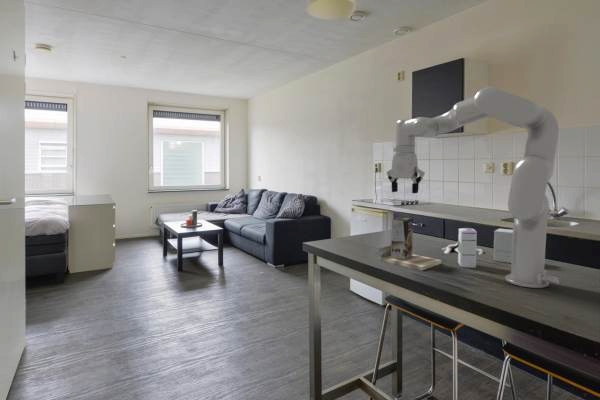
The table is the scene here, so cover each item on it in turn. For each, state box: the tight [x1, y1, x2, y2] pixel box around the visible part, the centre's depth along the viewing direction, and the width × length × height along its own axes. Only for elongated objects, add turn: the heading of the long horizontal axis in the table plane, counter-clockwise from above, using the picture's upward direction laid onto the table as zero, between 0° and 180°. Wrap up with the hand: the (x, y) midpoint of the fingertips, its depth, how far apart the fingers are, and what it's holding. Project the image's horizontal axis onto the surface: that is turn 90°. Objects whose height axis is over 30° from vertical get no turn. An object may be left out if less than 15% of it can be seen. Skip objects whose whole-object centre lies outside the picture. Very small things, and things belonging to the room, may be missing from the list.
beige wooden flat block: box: [378, 244, 442, 271], centre depth 152 cm, size 21×14×6 cm
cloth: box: [441, 241, 484, 255], centre depth 169 cm, size 22×19×6 cm
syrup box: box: [457, 227, 478, 269], centre depth 146 cm, size 6×6×14 cm
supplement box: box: [493, 228, 513, 264], centre depth 153 cm, size 7×7×13 cm
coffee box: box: [390, 216, 414, 260], centre depth 154 cm, size 9×6×16 cm
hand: (404, 192), depth 153 cm, fingers open, 9 cm apart
